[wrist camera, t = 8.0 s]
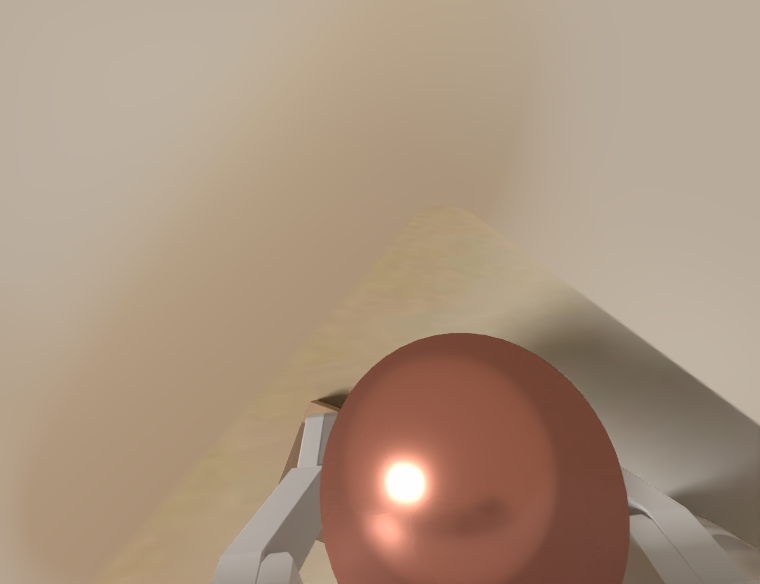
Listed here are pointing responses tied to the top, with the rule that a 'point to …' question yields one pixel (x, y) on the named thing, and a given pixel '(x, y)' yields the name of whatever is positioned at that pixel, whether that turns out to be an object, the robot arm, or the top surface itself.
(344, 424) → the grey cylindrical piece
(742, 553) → the plastic bottle
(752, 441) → the top surface
